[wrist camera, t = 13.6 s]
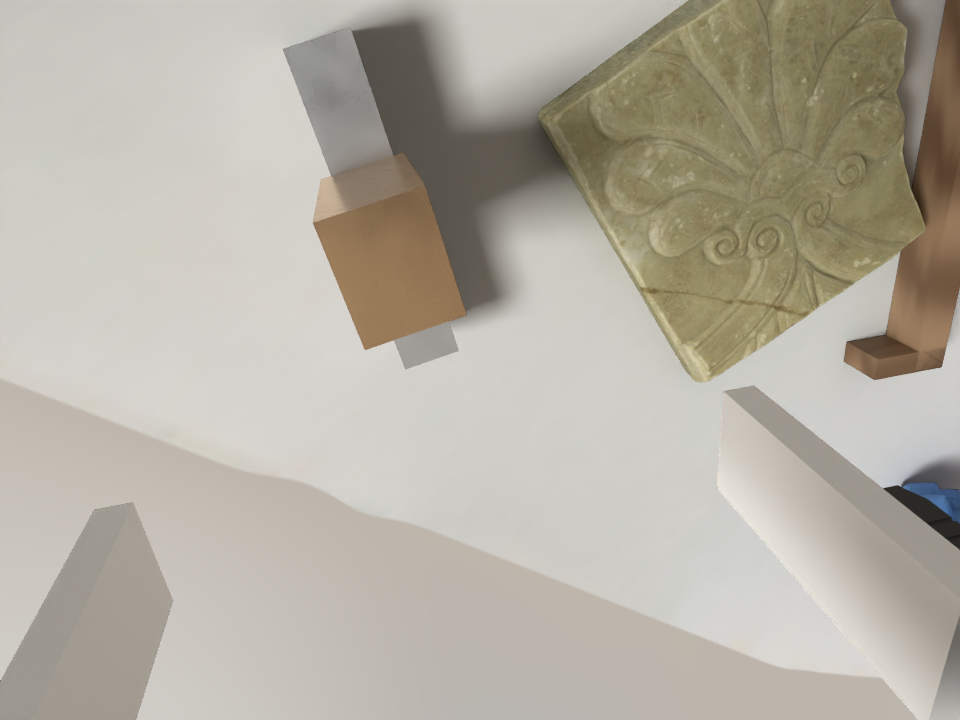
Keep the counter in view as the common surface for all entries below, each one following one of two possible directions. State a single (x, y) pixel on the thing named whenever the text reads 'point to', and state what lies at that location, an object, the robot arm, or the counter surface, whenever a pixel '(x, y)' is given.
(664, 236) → the decorative tile
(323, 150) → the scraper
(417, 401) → the counter surface
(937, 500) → the blue knobbed flower
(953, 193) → the brown wooden bar
